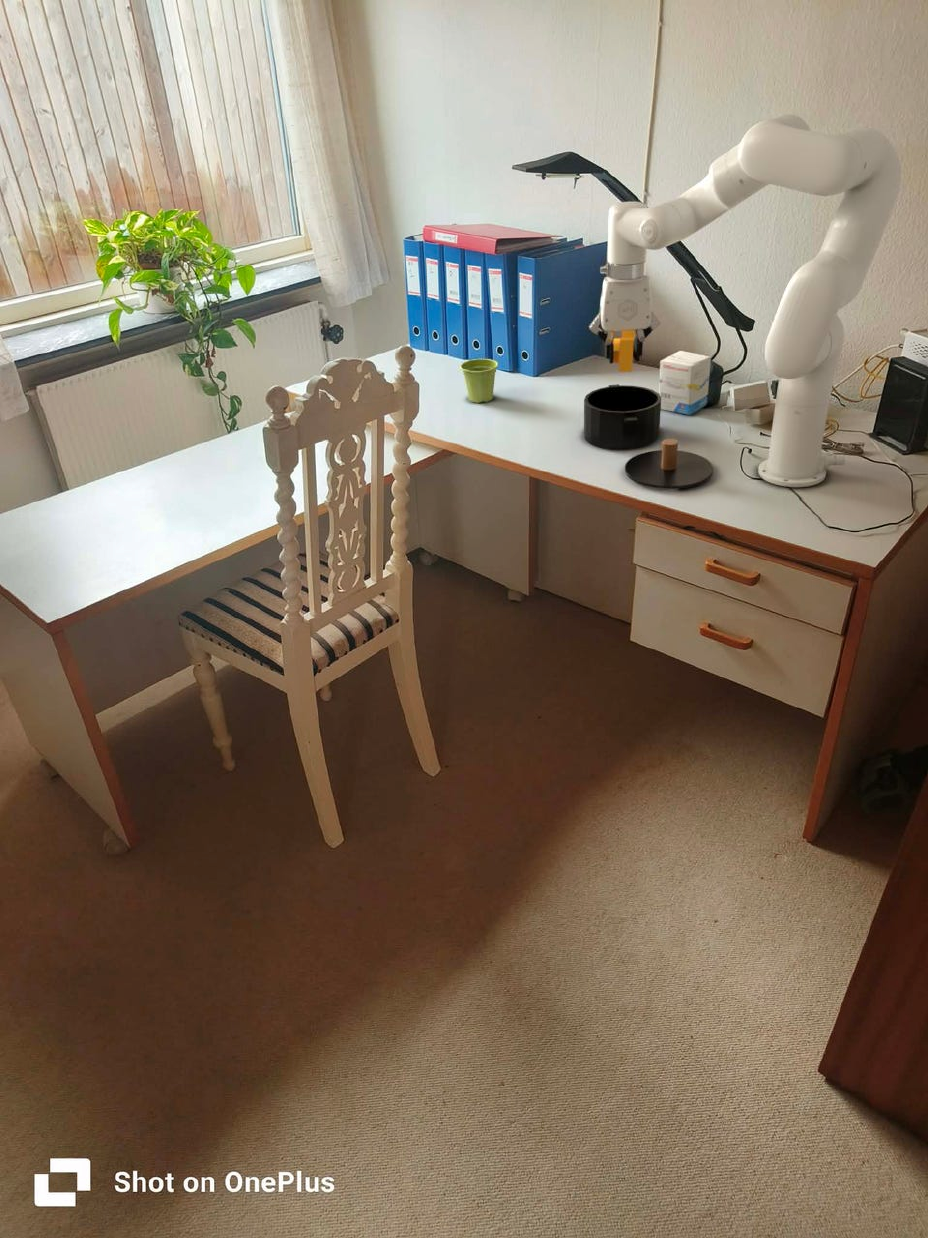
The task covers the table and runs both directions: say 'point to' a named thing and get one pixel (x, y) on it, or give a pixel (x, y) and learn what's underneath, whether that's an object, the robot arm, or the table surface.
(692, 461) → the lid
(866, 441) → the table surface
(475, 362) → the plant pot
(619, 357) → the orange stepped block
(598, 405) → the pot
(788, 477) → the robot arm
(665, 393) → the ink box
